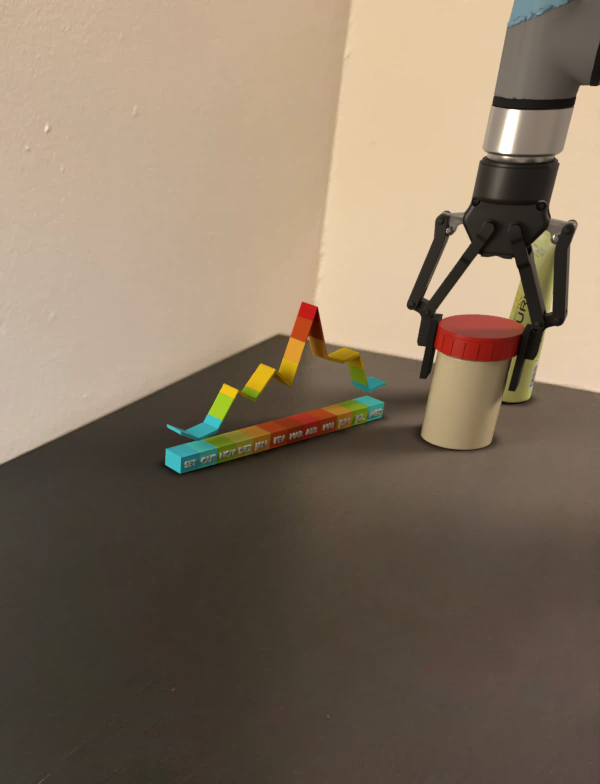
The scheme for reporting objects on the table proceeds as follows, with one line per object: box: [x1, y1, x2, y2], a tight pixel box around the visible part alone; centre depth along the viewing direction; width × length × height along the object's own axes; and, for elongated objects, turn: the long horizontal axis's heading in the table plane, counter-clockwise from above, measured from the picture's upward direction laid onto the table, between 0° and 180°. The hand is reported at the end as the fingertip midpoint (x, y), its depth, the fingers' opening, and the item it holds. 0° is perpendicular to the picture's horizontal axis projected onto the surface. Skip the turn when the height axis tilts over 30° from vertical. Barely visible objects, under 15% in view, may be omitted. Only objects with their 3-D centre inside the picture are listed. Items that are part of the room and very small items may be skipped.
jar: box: [420, 350, 513, 451], centre depth 112 cm, size 8×8×12 cm
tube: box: [502, 231, 556, 404], centre depth 120 cm, size 6×5×20 cm
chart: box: [164, 301, 387, 475], centre depth 112 cm, size 30×3×15 cm, turn 120°
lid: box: [434, 313, 525, 361], centre depth 109 cm, size 9×9×2 cm
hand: (468, 381), depth 112 cm, fingers closed on lid, 9 cm apart
